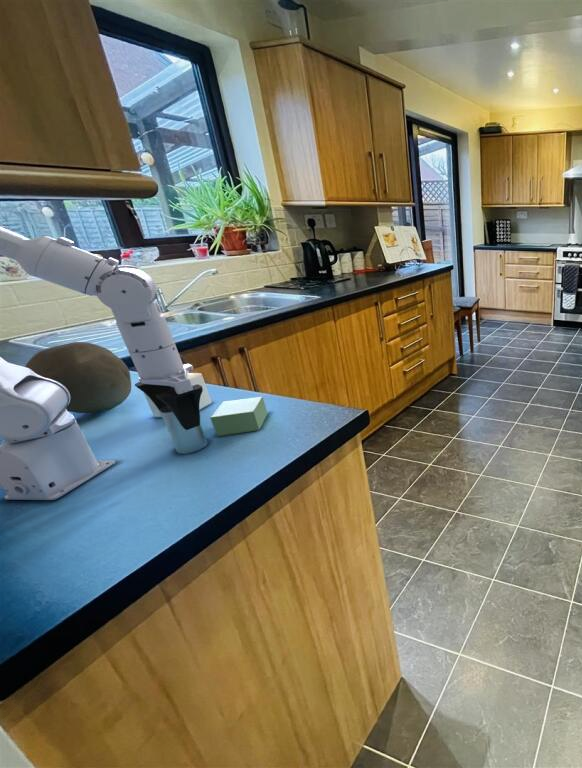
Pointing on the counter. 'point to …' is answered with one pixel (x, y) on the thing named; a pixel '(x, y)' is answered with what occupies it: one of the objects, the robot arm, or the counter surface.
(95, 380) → the cantaloupe
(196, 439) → the flask
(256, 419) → the block
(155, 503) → the counter surface
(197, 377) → the medicine bottle
